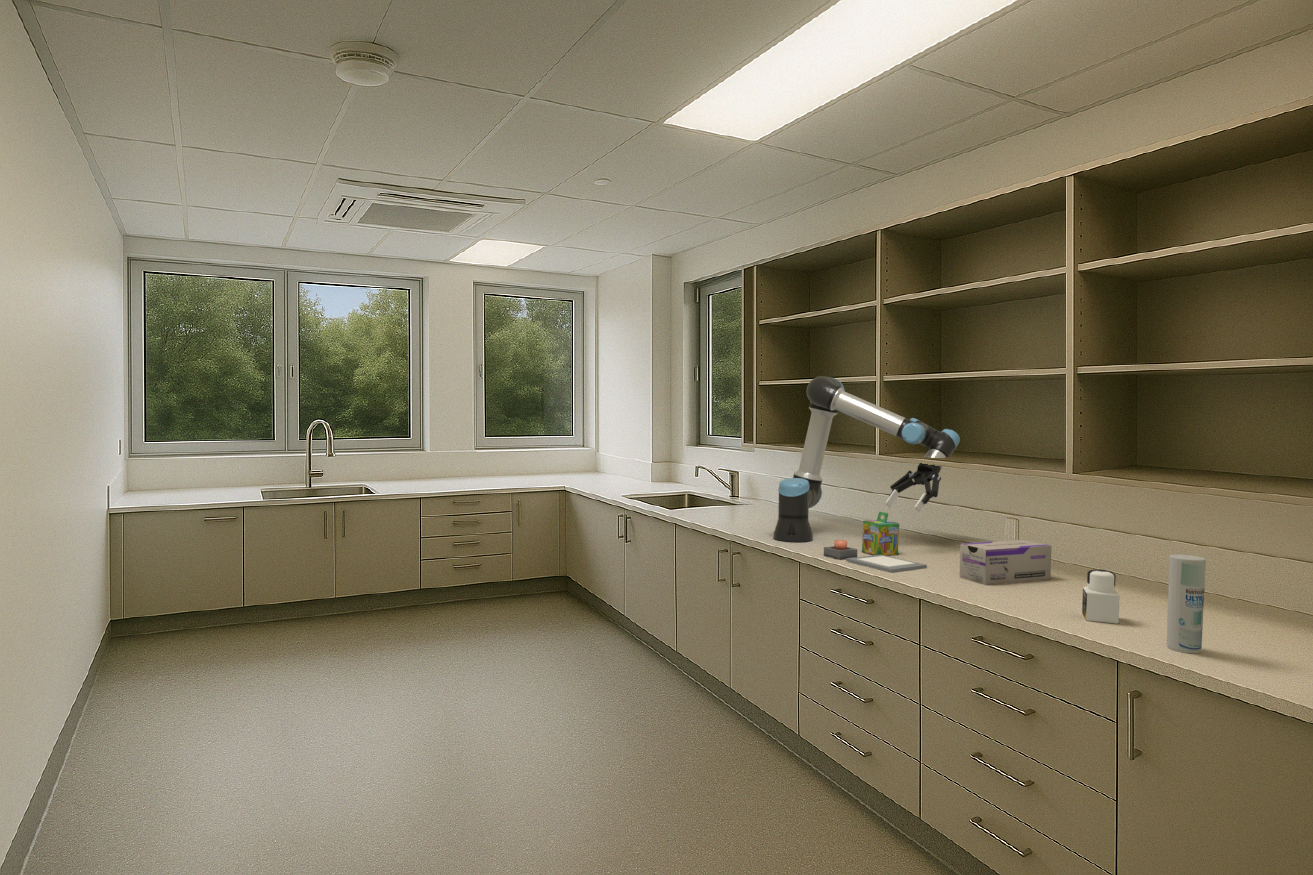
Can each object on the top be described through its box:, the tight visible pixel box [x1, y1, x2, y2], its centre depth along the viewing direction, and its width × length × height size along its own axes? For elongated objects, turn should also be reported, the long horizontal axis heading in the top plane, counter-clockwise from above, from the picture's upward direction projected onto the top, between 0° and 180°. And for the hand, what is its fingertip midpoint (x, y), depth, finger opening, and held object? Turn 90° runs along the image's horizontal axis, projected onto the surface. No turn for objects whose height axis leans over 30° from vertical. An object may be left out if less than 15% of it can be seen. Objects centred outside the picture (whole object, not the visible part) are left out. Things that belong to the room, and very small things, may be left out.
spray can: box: [1166, 554, 1207, 654], centre depth 168 cm, size 6×6×20 cm
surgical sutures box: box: [959, 539, 1052, 586], centre depth 238 cm, size 25×11×11 cm, turn 110°
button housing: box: [823, 545, 858, 561], centre depth 270 cm, size 8×8×3 cm
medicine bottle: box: [1081, 568, 1121, 625], centre depth 193 cm, size 7×7×12 cm
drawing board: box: [845, 555, 928, 573], centre depth 257 cm, size 20×16×1 cm
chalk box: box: [861, 511, 900, 557], centre depth 277 cm, size 9×9×15 cm
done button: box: [833, 539, 848, 550], centre depth 270 cm, size 4×4×3 cm
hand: (902, 507), depth 281 cm, fingers open, 13 cm apart
